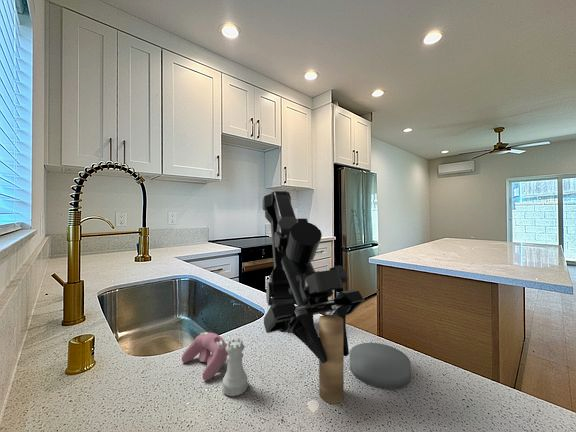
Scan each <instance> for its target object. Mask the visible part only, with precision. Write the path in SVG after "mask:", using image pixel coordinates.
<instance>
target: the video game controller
mask: <svg viewBox="0 0 576 432" xmlns="http://www.w3.org/2000/svg"><path fill="white" fill-rule="evenodd" d="M227 345H228V343H226V341H225V340H224V339H223V337H222V336H220V335H219V334H218V333H215V332H208V331H206V332H201V333H200V334H199V335H197V336H196V337H195V338H194V340H193V341H192V342H191V344H189V346H188V347H187V348H186V350H184V352H183V354H182V355H181V362H182V363H183V364H186V363H189V362H191V361H192V360H193V359H195V357H197V356H198V355H199V356H198V360H199V361H200V362H202V363H206V364H207V365H206V366H205V368H204V370H203V372H202V380H204V381H205V382H207V381H210V380H211V379H212V378H213V377H215V375H216V374H218V372H219V371H220V369H221V368H222V366H223V364H224V363H225V361H226V360H227V356H228V353H227V351H226V350H225V348H226V346H227Z"/></svg>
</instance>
